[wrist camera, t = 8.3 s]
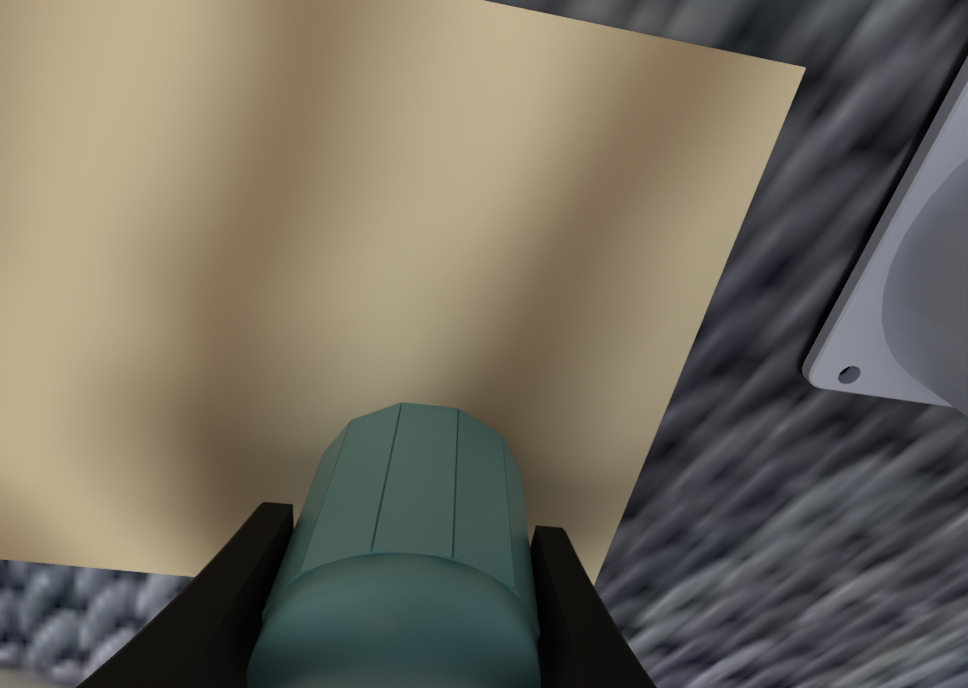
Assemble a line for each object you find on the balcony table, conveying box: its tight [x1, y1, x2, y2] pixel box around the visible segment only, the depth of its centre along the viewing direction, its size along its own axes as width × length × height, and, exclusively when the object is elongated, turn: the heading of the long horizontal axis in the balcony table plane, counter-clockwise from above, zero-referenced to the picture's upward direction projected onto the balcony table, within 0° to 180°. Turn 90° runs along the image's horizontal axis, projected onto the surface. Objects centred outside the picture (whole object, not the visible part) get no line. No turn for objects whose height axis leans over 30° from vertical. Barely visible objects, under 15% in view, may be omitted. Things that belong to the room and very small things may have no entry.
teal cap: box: [247, 402, 541, 688], centre depth 11 cm, size 5×5×5 cm
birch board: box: [0, 0, 806, 586], centre depth 12 cm, size 19×15×1 cm
